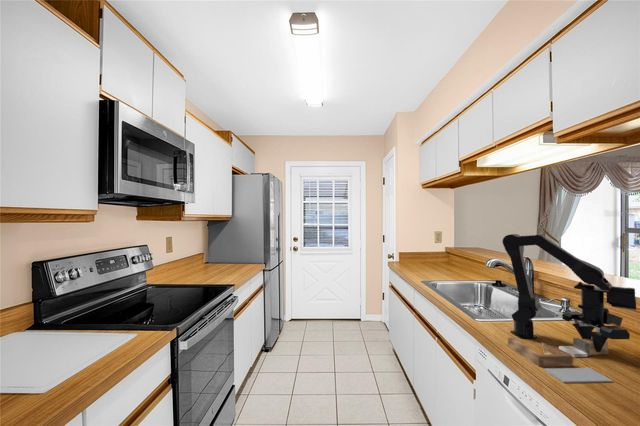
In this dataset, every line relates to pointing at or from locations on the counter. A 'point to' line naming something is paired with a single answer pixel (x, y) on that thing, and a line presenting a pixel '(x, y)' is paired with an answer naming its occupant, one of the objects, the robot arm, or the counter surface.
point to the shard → (552, 349)
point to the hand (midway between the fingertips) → (593, 349)
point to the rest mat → (577, 375)
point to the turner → (583, 348)
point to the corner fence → (540, 355)
